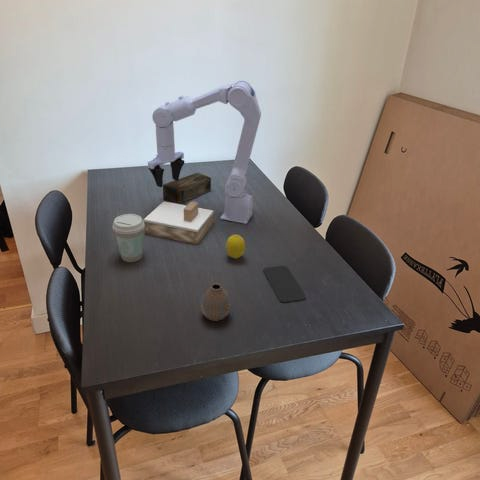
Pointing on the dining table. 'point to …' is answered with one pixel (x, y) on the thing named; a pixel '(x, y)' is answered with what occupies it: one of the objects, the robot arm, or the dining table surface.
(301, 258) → the dining table surface
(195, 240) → the box
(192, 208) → the lid
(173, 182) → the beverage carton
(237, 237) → the lemon
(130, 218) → the coffee cup
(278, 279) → the phone
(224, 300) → the vase
